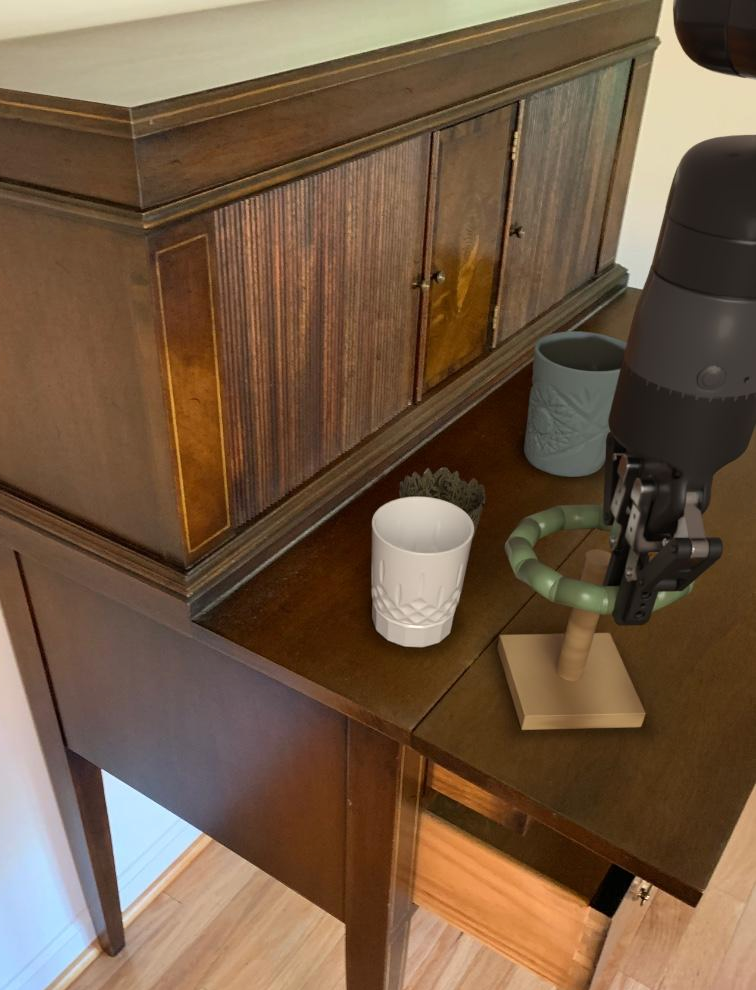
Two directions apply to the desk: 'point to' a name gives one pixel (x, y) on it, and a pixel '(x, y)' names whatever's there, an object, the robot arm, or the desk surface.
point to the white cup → (418, 568)
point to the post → (571, 671)
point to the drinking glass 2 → (572, 401)
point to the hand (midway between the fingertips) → (623, 609)
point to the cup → (447, 491)
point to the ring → (552, 581)
